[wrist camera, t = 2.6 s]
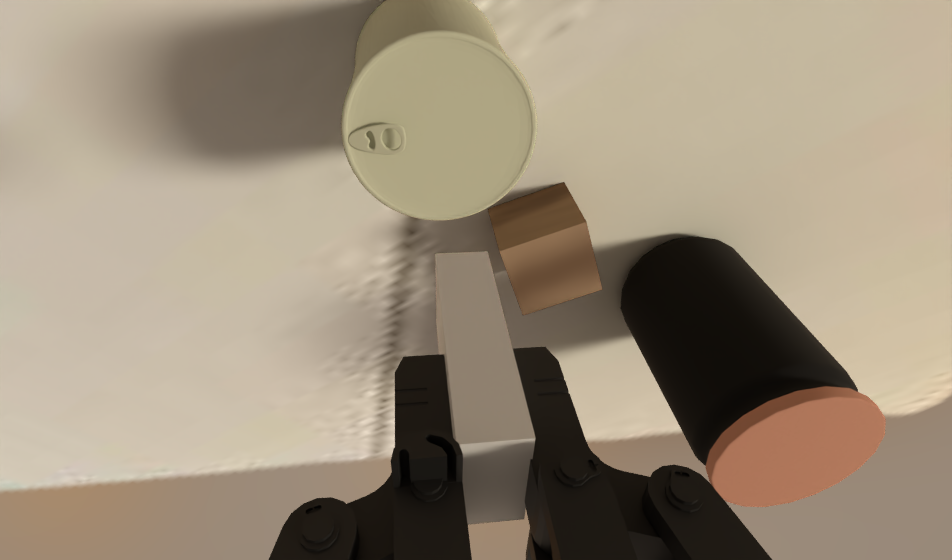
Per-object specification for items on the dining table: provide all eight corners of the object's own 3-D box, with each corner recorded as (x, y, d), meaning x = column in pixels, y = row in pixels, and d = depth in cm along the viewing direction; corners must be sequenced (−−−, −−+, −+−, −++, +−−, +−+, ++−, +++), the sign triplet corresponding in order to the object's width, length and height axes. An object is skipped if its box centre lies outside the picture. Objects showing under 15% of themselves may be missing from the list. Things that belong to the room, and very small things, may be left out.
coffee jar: (642, 346, 52) (737, 527, 37) (595, 273, 46) (687, 452, 31) (750, 291, 49) (897, 462, 35) (715, 206, 43) (874, 368, 29)
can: (344, -11, 32) (321, 37, 22) (502, -17, 32) (546, 27, 23) (366, 142, 37) (355, 233, 27) (500, 133, 38) (536, 220, 28)
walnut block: (487, 208, 41) (499, 251, 36) (563, 181, 41) (586, 221, 36) (509, 268, 45) (523, 315, 40) (579, 245, 44) (602, 289, 39)
